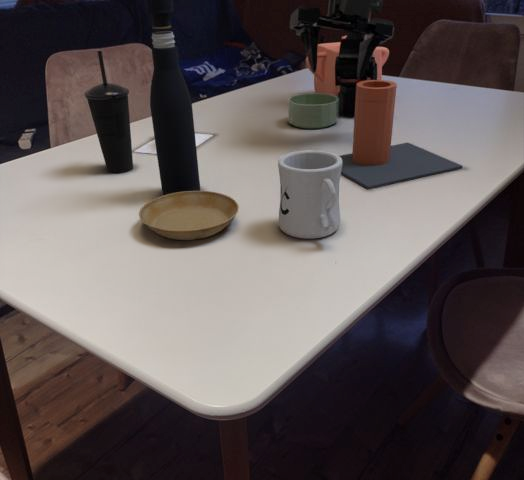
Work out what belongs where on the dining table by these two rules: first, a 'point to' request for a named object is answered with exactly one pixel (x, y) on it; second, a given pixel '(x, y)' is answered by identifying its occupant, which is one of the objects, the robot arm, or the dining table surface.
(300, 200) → the mug
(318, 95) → the sage bowl
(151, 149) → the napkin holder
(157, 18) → the wine bottle
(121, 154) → the drinking cup
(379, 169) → the felt mat
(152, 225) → the plant saucer
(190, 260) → the dining table surface
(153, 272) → the dining table surface
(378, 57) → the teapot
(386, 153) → the terracotta jar
